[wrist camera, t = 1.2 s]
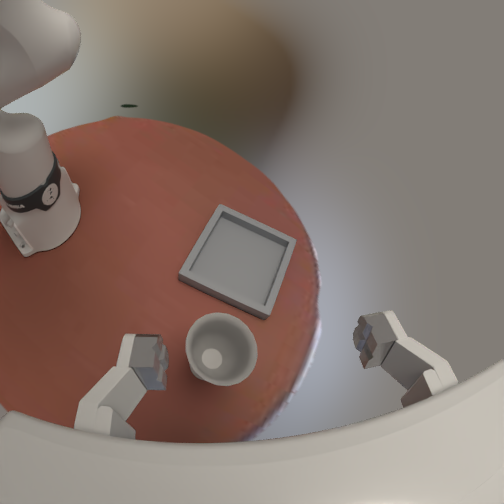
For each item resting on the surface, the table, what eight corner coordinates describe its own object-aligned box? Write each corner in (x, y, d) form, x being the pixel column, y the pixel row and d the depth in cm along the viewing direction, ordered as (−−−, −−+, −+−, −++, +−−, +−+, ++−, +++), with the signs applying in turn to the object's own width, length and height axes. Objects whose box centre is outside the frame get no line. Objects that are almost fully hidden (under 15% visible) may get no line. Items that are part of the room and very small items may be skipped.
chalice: (176, 351, 40) (173, 326, 25) (215, 336, 43) (237, 302, 28) (196, 393, 38) (206, 397, 22) (235, 376, 40) (269, 367, 25)
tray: (178, 280, 46) (178, 272, 43) (217, 213, 54) (219, 203, 52) (264, 320, 46) (269, 315, 44) (291, 247, 55) (296, 239, 52)
